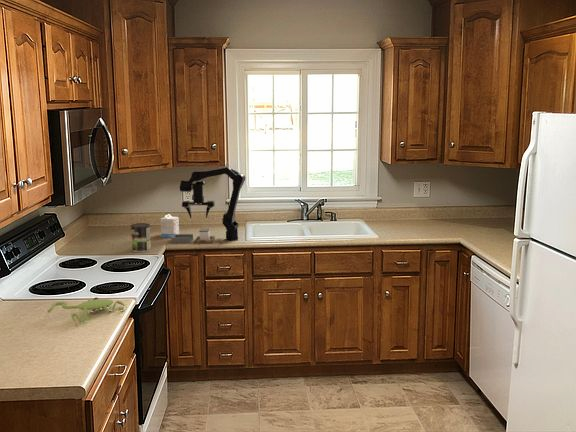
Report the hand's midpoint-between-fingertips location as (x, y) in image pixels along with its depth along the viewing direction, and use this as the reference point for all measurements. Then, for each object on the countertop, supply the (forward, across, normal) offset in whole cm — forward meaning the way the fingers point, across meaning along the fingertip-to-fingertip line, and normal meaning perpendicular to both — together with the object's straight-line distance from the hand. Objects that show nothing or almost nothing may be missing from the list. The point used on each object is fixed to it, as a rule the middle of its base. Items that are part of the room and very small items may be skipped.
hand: (198, 218), depth 365 cm
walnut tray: (+12, -4, +10) cm, 16 cm away
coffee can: (+12, +28, +29) cm, 42 cm away
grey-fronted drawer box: (+11, -4, +10) cm, 16 cm away
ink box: (+12, +18, -4) cm, 22 cm away
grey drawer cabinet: (+12, +8, +10) cm, 18 cm away
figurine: (+13, +26, +132) cm, 135 cm away
